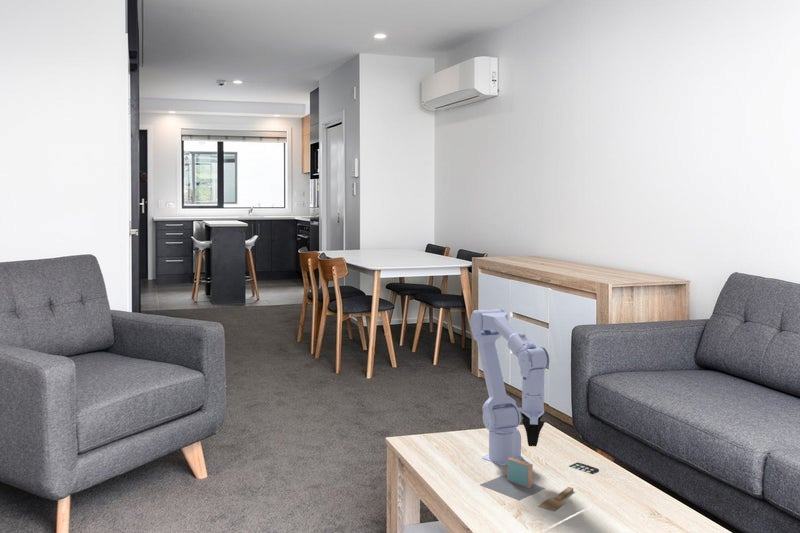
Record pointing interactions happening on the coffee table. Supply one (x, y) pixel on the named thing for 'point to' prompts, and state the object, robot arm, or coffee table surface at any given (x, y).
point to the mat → (511, 488)
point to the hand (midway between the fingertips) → (531, 442)
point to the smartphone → (584, 468)
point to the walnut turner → (556, 500)
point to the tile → (519, 472)
